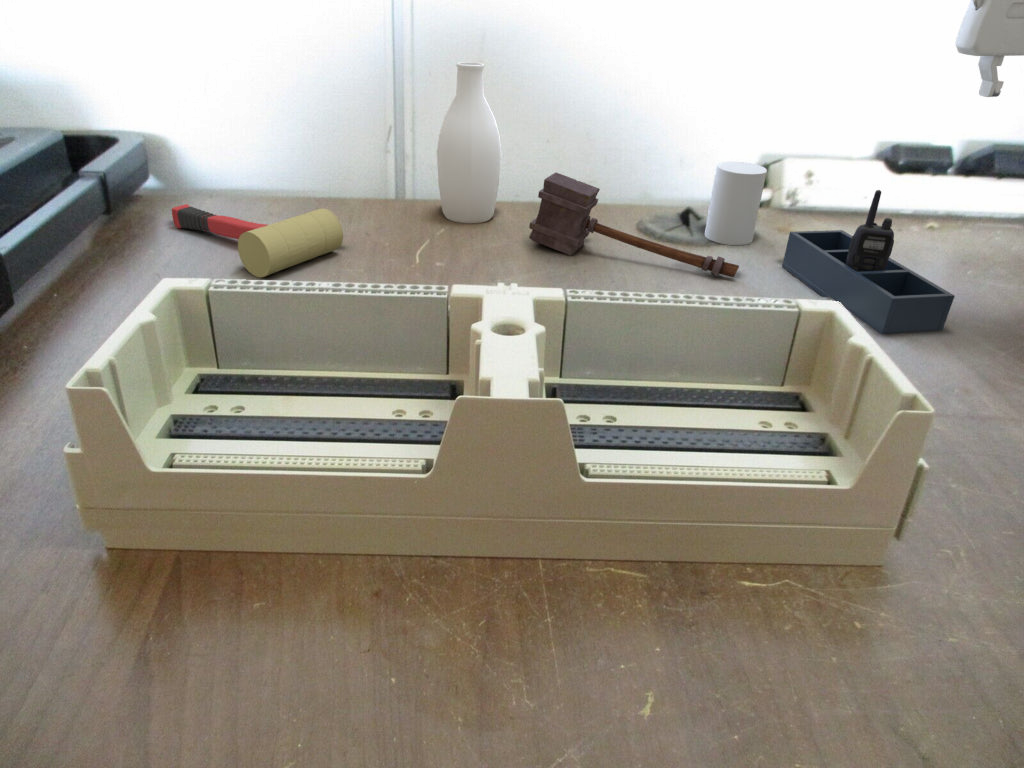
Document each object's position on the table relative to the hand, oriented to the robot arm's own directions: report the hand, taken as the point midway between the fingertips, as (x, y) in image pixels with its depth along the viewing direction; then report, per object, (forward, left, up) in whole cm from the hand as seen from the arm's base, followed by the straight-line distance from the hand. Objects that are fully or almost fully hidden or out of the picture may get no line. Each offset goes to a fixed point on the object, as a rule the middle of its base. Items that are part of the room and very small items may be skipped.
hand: (1022, 95), depth 92 cm
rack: (+9, -7, -29) cm, 32 cm away
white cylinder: (+16, -34, -30) cm, 48 cm away
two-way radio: (+9, -7, -29) cm, 31 cm away
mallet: (+97, -37, -30) cm, 108 cm away
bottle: (+60, -49, -30) cm, 83 cm away
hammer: (+37, -25, -30) cm, 54 cm away
